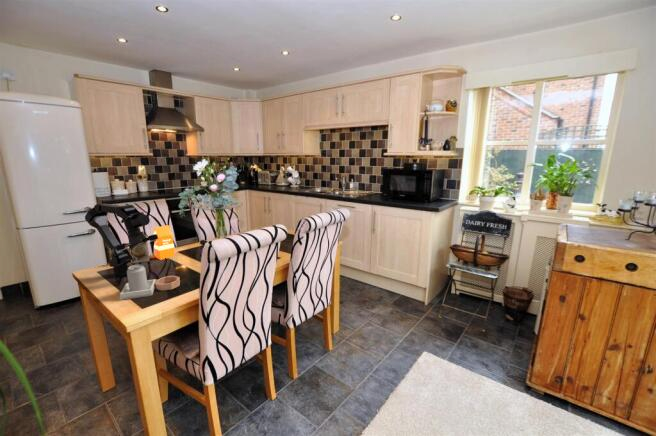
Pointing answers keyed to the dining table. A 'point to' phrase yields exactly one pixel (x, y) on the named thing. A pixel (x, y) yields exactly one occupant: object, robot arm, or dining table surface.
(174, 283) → the collar
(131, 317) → the dining table surface
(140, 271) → the can
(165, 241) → the orange juice
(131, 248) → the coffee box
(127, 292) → the tray
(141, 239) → the robot arm
